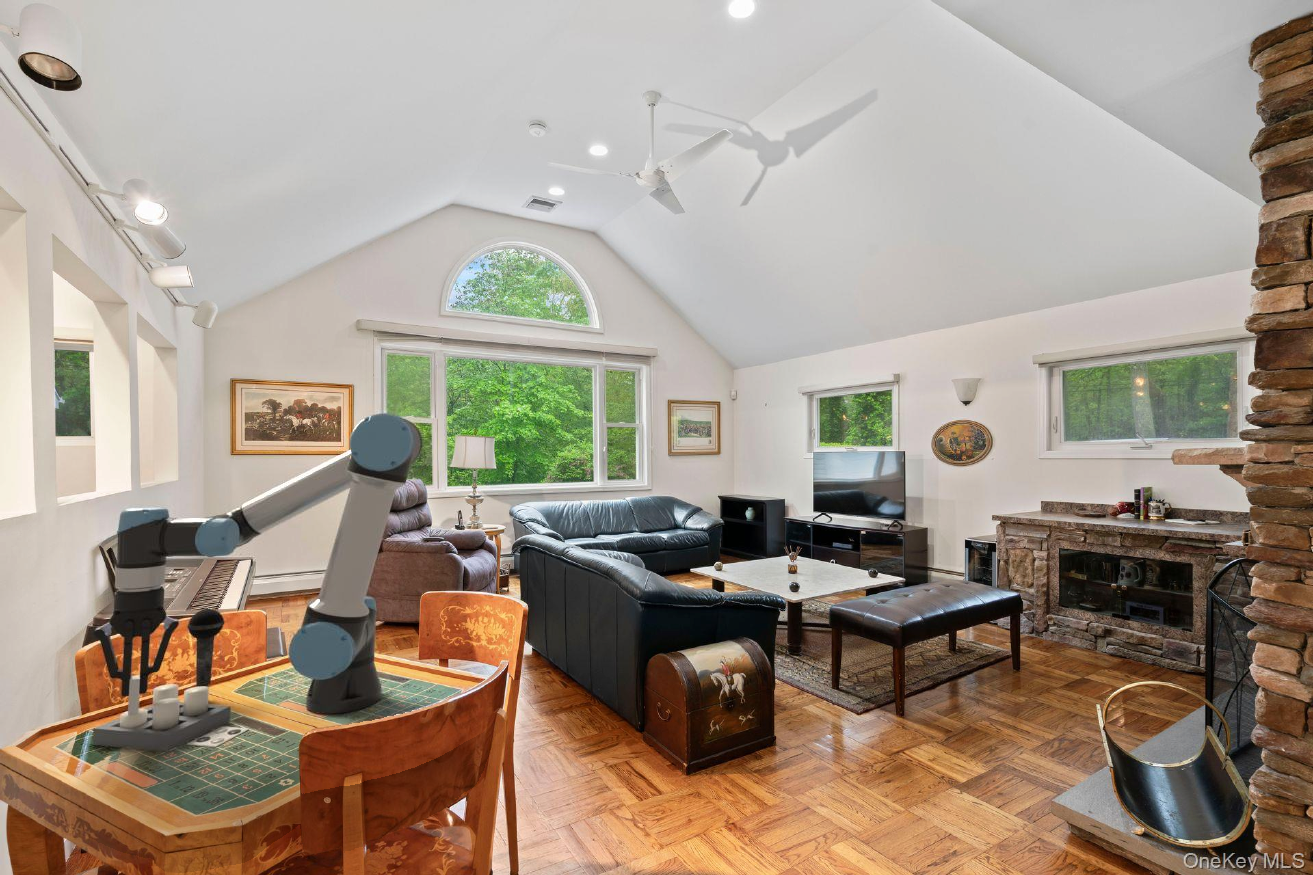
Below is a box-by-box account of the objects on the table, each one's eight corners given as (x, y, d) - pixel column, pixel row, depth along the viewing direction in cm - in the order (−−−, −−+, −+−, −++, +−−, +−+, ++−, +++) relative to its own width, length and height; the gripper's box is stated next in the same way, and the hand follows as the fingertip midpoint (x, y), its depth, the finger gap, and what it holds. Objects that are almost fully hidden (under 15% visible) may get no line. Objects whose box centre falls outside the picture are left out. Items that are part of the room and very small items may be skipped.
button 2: (182, 707, 129) (183, 684, 129) (164, 714, 125) (165, 691, 125) (165, 705, 130) (166, 683, 130) (147, 713, 126) (148, 690, 126)
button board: (229, 720, 129) (230, 706, 129) (167, 751, 115) (168, 734, 115) (161, 715, 131) (162, 700, 132) (92, 744, 118) (93, 728, 118)
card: (249, 729, 125) (249, 727, 125) (215, 747, 117) (215, 745, 117) (222, 727, 126) (222, 725, 126) (187, 744, 118) (187, 743, 118)
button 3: (184, 722, 121) (185, 698, 122) (165, 730, 117) (166, 706, 118) (165, 720, 122) (167, 697, 122) (146, 729, 118) (147, 704, 118)
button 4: (212, 709, 128) (213, 686, 128) (195, 717, 124) (196, 693, 124) (195, 707, 129) (196, 685, 129) (177, 715, 125) (179, 692, 125)
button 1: (151, 732, 122) (152, 709, 123) (131, 741, 118) (133, 717, 119) (133, 731, 123) (135, 708, 123) (113, 740, 119) (114, 715, 119)
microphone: (215, 692, 145) (219, 604, 146) (225, 699, 141) (229, 609, 142) (179, 700, 140) (183, 609, 141) (188, 708, 135) (193, 614, 136)
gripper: (182, 581, 129) (176, 698, 128) (97, 588, 121) (90, 712, 120) (182, 587, 123) (175, 710, 122) (93, 594, 115) (85, 726, 114)
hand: (133, 711), depth 121 cm, fingers closed
